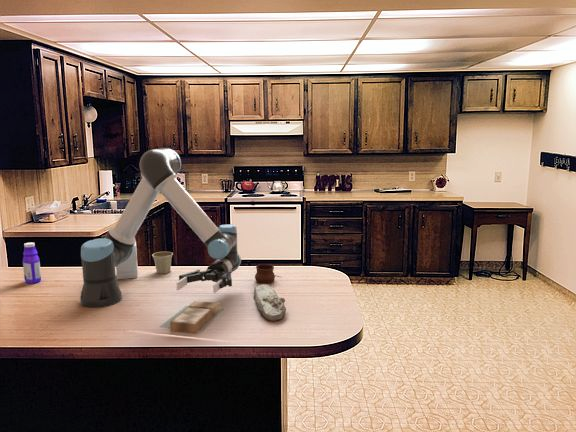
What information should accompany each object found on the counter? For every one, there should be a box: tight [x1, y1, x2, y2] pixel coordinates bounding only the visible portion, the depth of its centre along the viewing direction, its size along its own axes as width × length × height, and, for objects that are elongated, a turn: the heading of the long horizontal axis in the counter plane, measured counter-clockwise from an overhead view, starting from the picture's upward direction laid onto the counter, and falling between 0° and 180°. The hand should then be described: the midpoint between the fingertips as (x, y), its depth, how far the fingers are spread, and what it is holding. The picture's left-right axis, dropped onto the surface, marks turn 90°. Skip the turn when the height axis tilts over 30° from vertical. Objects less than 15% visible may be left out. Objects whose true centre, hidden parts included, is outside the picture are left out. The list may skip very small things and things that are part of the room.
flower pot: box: [151, 251, 174, 275], centre depth 224 cm, size 9×9×9 cm
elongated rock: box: [253, 284, 287, 322], centre depth 182 cm, size 35×5×10 cm
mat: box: [159, 305, 224, 332], centre depth 169 cm, size 15×20×1 cm
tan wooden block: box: [188, 300, 222, 317], centre depth 173 cm, size 10×5×3 cm, turn 76°
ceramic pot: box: [254, 263, 283, 285], centre depth 210 cm, size 18×18×7 cm
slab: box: [169, 307, 212, 334], centre depth 163 cm, size 9×3×14 cm
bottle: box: [22, 242, 42, 284], centre depth 210 cm, size 7×6×17 cm
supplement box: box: [115, 241, 139, 280], centre depth 218 cm, size 9×9×15 cm
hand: (195, 287), depth 165 cm, fingers open, 13 cm apart
